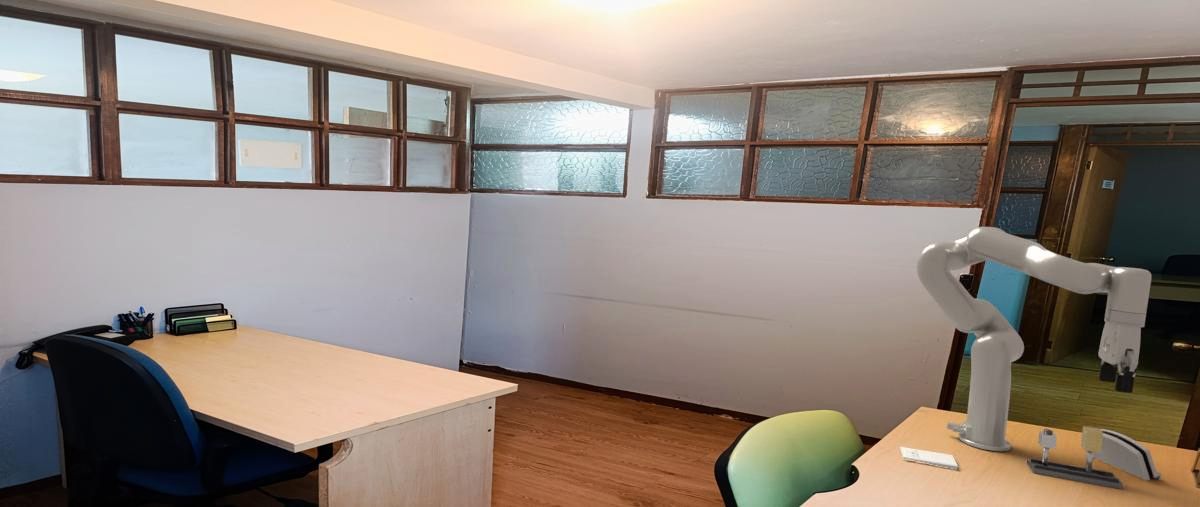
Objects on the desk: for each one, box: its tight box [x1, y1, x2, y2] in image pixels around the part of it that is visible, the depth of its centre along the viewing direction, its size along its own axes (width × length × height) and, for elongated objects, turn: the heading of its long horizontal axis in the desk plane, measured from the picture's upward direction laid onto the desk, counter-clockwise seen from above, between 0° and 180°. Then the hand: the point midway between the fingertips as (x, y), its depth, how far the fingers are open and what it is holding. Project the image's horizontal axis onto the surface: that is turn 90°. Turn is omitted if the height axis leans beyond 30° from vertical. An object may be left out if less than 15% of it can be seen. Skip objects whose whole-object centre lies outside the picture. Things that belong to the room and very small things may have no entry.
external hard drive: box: [899, 446, 959, 471], centre depth 160 cm, size 2×8×12 cm
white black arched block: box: [1085, 428, 1163, 481], centre depth 162 cm, size 17×5×10 cm, turn 8°
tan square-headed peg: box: [1080, 425, 1103, 472], centre depth 153 cm, size 3×3×11 cm
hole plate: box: [1026, 428, 1124, 490], centre depth 154 cm, size 18×7×10 cm, turn 66°
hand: (1114, 386), depth 152 cm, fingers open, 9 cm apart
